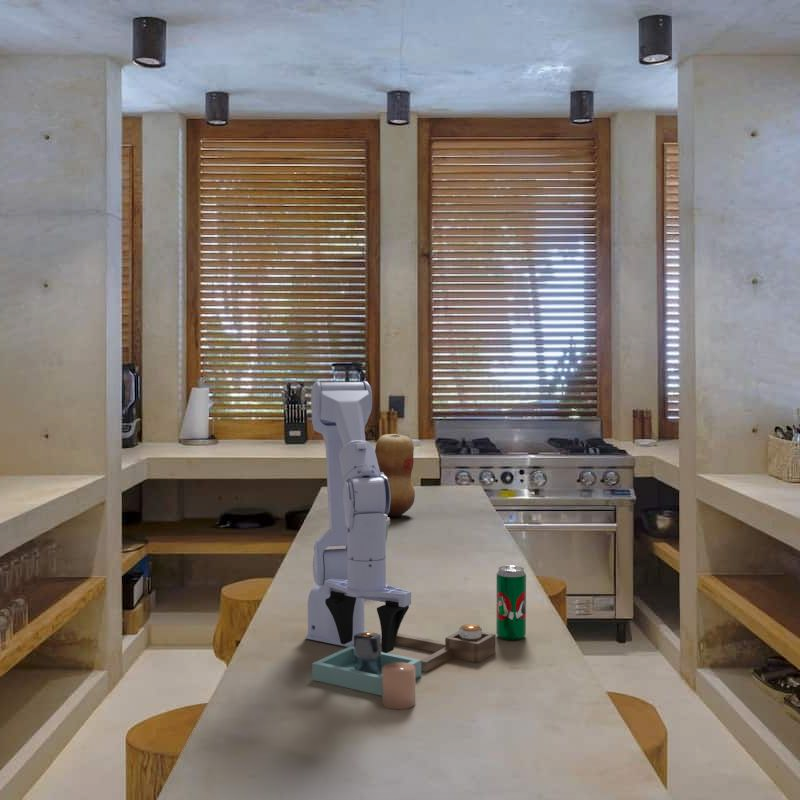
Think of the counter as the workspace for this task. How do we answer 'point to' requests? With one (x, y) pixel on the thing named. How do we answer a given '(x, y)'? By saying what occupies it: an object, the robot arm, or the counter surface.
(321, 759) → the counter surface
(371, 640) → the cell
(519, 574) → the soda can
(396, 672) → the peach glossy rounded part
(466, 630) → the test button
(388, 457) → the butternut squash
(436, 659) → the cradle
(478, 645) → the square wooden box
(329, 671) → the teal tray
